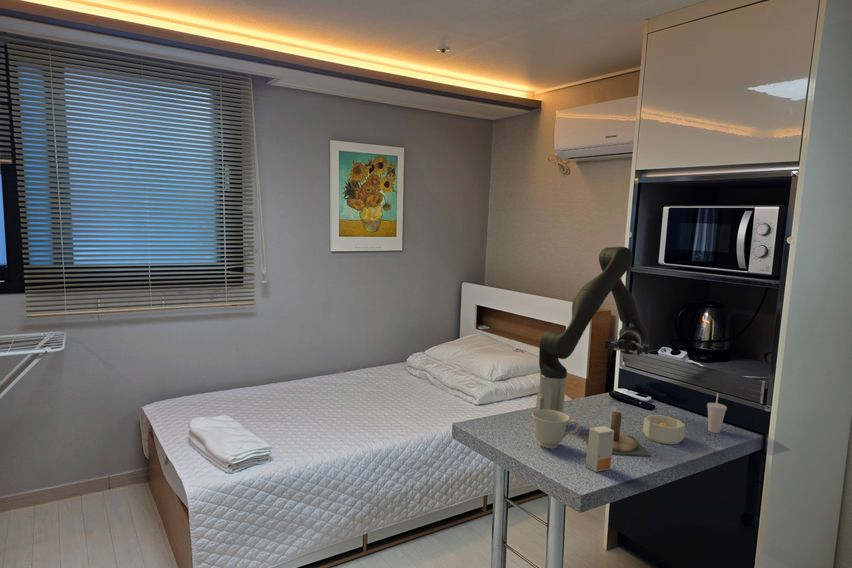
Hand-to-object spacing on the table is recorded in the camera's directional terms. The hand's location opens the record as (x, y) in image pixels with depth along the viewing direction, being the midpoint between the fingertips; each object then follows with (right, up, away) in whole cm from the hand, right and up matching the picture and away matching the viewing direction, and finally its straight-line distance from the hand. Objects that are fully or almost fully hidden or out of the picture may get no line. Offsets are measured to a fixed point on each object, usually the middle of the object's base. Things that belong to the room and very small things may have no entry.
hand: (624, 350), depth 188 cm
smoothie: (+37, -31, +14) cm, 51 cm away
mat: (-5, -31, -5) cm, 32 cm away
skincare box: (-16, -32, -24) cm, 43 cm away
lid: (-5, -30, -5) cm, 31 cm away
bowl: (+14, -31, +4) cm, 34 cm away
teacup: (-26, -30, -9) cm, 41 cm away
